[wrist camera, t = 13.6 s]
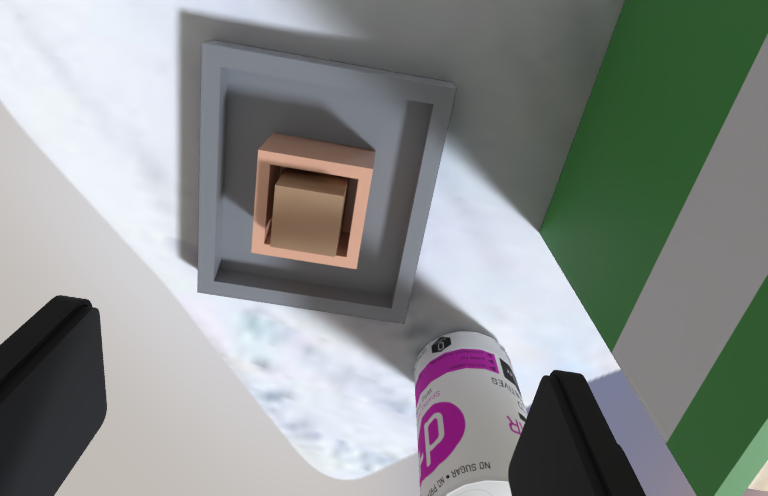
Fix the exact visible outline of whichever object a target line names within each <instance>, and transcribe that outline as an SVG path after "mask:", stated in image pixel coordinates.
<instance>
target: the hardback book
mask: <svg viewBox="0 0 768 496" xmlns="http://www.w3.org/2000/svg"><path fill="white" fill-rule="evenodd" d="M539 233H540V235H541V236H542V238H543V240H544V241H545V243H546V245H547V246H548V248H549V250H550V251H551V253H552V255H553V256H554V258H555V260H556V261H557V263H558V265H559V266H560V268H561V270H562V271H563V273H564V275H565V276H566V278H567V280H568V281H569V283H570V285H571V286H572V288H573V290H574V291H575V293H576V295H577V296H578V298H579V300H580V301H581V303H582V305H583V306H584V308H585V310H586V311H587V313H588V315H589V316H590V318H591V320H592V321H593V323H594V325H595V326H596V328H597V330H598V331H599V333H600V335H601V337H602V338H603V340H604V342H605V343H606V345H607V347H608V348H609V350H610V352H611V353H612V355H613V357H614V358H615V360H616V362H617V363H618V365H619V367H620V368H621V370H622V372H623V373H624V375H625V377H626V378H627V380H628V381H629V383H630V385H631V387H632V388H633V390H634V392H635V393H636V395H637V397H638V398H639V400H640V402H641V403H642V405H643V406H644V408H645V410H646V412H647V413H648V415H649V417H650V418H651V420H652V421H653V423H654V425H655V427H656V428H657V430H658V432H659V433H660V435H661V437H662V438H663V440H664V441H665V443H666V445H667V447H668V448H669V450H670V451H671V453H672V455H673V457H674V458H675V460H676V462H677V463H678V465H679V467H680V468H681V470H682V472H683V473H684V475H685V477H686V478H687V480H688V482H689V483H690V485H691V487H692V488H693V490H694V492H695V493H696V495H697V496H742V495H743V493H744V492H745V491H746V489H747V488H751V489H757V490H762V491H768V0H625V2H624V5H623V8H622V11H621V13H620V16H619V19H618V21H617V24H616V27H615V29H614V32H613V35H612V38H611V40H610V43H609V46H608V48H607V51H606V54H605V56H604V59H603V62H602V65H601V67H600V70H599V73H598V75H597V78H596V81H595V84H594V86H593V89H592V92H591V94H590V97H589V100H588V102H587V105H586V108H585V111H584V113H583V116H582V119H581V121H580V124H579V127H578V129H577V132H576V135H575V138H574V140H573V143H572V146H571V148H570V151H569V154H568V156H567V159H566V162H565V165H564V167H563V170H562V173H561V175H560V178H559V181H558V183H557V186H556V189H555V192H554V194H553V197H552V200H551V202H550V205H549V208H548V210H547V213H546V216H545V219H544V221H543V224H542V227H541V229H540V232H539Z"/></svg>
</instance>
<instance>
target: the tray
mask: <svg viewBox="0 0 768 496" xmlns="http://www.w3.org/2000/svg"><path fill="white" fill-rule="evenodd" d="M455 93H456V87H455V86H454V84H453V83H452V82H446V81H441V80H435V79H430V78H424V77H419V76H413V75H407V74H402V73H396V72H391V71H385V70H379V69H374V68H368V67H363V66H357V65H352V64H346V63H340V62H335V61H329V60H324V59H318V58H312V57H307V56H301V55H296V54H290V53H285V52H279V51H273V50H268V49H262V48H257V47H251V46H246V45H240V44H234V43H229V42H223V41H218V40H212V41H208V42H204V43H202V53H201V112H200V171H199V229H198V288H197V292H198V293H205V294H211V295H218V296H225V297H231V298H238V299H244V300H251V301H257V302H264V303H270V304H277V305H283V306H290V307H296V308H303V309H310V310H316V311H323V312H329V313H336V314H342V315H349V316H355V317H362V318H368V319H375V320H381V321H388V322H395V323H401V324H404V323H405V318H406V314H407V309H408V305H409V300H410V296H411V291H412V287H413V282H414V278H415V273H416V269H417V264H418V260H419V255H420V251H421V246H422V242H423V237H424V233H425V228H426V224H427V219H428V215H429V210H430V206H431V201H432V196H433V192H434V187H435V183H436V178H437V174H438V169H439V165H440V160H441V156H442V151H443V147H444V142H445V138H446V133H447V129H448V124H449V120H450V115H451V111H452V106H453V102H454V97H455ZM272 133H279V134H285V135H291V136H297V137H303V138H308V139H314V140H320V141H326V142H332V143H338V144H344V145H349V146H355V147H361V148H367V149H373V150H376V151H375V158H374V166H373V173H372V179H371V185H370V191H369V197H368V203H367V209H366V215H365V221H364V227H363V233H362V239H361V245H360V251H359V257H358V263H357V269H351V268H345V267H339V266H332V265H326V264H320V263H313V262H307V261H301V260H294V259H288V258H282V257H276V256H269V255H263V254H257V253H251V249H252V234H253V219H254V204H255V189H256V174H257V159H258V149H259V148H260V147H261V146H262V145H263V144H264V143H265V141H266V140H267V139H268V138H269V137H270V136H271V135H272Z"/></svg>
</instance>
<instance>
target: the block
mask: <svg viewBox="0 0 768 496" xmlns="http://www.w3.org/2000/svg"><path fill="white" fill-rule="evenodd" d="M348 185H349V177H343V176H337V175H331V174H325V173H319V172H313V171H307V170H301V169H295V168H289V167H286V168H285V170H284V172H283V173H282V175H281V176H280V178H279V180H278V181H277V183H276V184H275V193H274V205H273V217H272V229H271V241H270V247H275V248H281V249H287V250H294V251H300V252H306V253H313V254H319V255H325V256H331V257H335V256H336V251H337V247H338V242H339V238H340V234H341V229H342V225H343V219H344V212H345V206H346V199H347V192H348Z"/></svg>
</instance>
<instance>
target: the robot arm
mask: <svg viewBox="0 0 768 496" xmlns="http://www.w3.org/2000/svg"><path fill="white" fill-rule="evenodd" d="M106 411H107V402H106V389H105V376H104V364H103V352H102V338H101V325H100V315H99V310H98V309H97V308H93V307H92V304H91V303H90V301H89V300H87V299H81V298H75V297H68V296H61V295H60V296H56V297H54V298H53V299H51V300H50V301H49V302H48V303H47V304H46V305H45V306H44V307H42V308H41V309H40V310H39V311H38V312H37V313H36V314H35V315H34V316H32V317H31V318H30V319H29V320H28V321H27V322H26V323H25V324H23V325H22V326H21V327H20V328H19V329H18V330H17V331H16V332H14V333H13V334H12V335H11V336H10V337H9V338H8V339H7V340H5V341H4V342H3V343H2V344H1V345H0V496H54V495H55V493H56V492H57V490H58V489H59V487H60V486H61V484H62V483H63V481H64V480H65V479H66V477H67V476H68V474H69V473H70V471H71V470H72V468H73V467H74V465H75V464H76V462H77V461H78V459H79V458H80V456H81V455H82V454H83V452H84V450H85V449H86V448H87V446H88V444H89V443H90V441H91V440H92V439H93V437H94V435H95V434H96V433H97V431H98V430H99V429H100V427H101V425H102V423H103V421H104V419H105V416H106ZM508 480H509V486H510V490H511V494H512V496H646V495H645V493H644V491H643V489H642V487H641V485H640V483H639V481H638V479H637V477H636V475H635V473H634V471H633V469H632V467H631V465H630V463H629V461H628V459H627V457H626V455H625V453H624V451H623V450H622V448H621V447H620V445H618V444H617V443H616V440H615V438H614V436H613V434H612V432H611V430H610V428H609V426H608V424H607V422H606V420H605V418H604V416H603V414H602V412H601V410H600V408H599V406H598V404H597V402H596V400H595V398H594V396H593V394H592V392H591V389H590V387H589V385H588V383H587V381H586V379H585V378H584V376H583V375H582V374H580V373H573V372H566V371H560V370H554V371H553V372H552V373H551V374H550V376H547V375H545V376H543V377H542V379H541V381H540V384H539V387H538V389H537V392H536V395H535V397H534V400H533V403H532V405H531V408H530V411H529V413H528V416H527V419H526V421H525V424H524V426H523V429H522V432H521V434H520V437H519V440H518V442H517V445H516V448H515V450H514V453H513V456H512V458H511V461H510V464H509V469H508Z"/></svg>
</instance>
